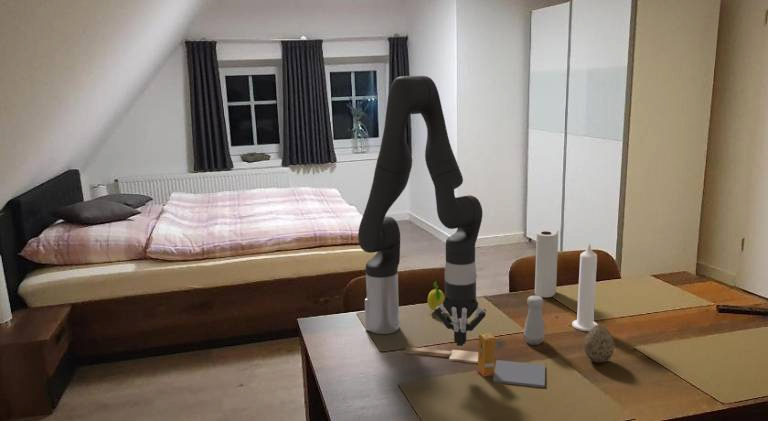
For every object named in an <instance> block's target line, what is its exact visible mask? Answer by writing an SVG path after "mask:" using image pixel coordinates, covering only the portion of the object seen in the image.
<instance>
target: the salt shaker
mask: <svg viewBox="0 0 768 421" xmlns="http://www.w3.org/2000/svg"><path fill="white" fill-rule="evenodd" d="M526 299H527V300H526V302H527V303H526V305H527V306H528V312H527V316H526V320H525V325H524V327H523V328H524V329H523V337H524V340H525V342H526V343H527V344H530V345H531V346H533V345H536V346H537V345H540V344H542V343H543V341H544V339H545V337H546V332H545V325H544V318H543V313H542V312H543V311H542V307H543V306H544V297H540V296H537V295H530V296H528V298H526Z"/></svg>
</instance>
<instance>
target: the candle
mask: <svg viewBox="0 0 768 421" xmlns="http://www.w3.org/2000/svg"><path fill="white" fill-rule="evenodd" d="M597 265H598V255H597V254H596V252H594V251H593V249H592V245H591V243H588V244H587V247H586V249H585V251H583V252H581V253H580V256H579V272H578V274H579V276H578V291H577V292H578V294H577V312H576V313H577V315H576V316H577V317H576V319H575V320H573V321H572V323H571V326H572V328H574V329H576V330H577V331H581V332H589V331H590V330H591V329H592V328H593V327H595V326H596V325H599V324H598V323H597V322H595V321H594V319H595V318H594V317H595V302H596V301H595V300H596V285H597V284H596V281H597V270H598V269H597V267H598V266H597Z"/></svg>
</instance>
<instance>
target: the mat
mask: <svg viewBox="0 0 768 421" xmlns="http://www.w3.org/2000/svg"><path fill="white" fill-rule="evenodd" d="M492 377H493V378H492V382H493V383H499V384H506V385H507V384H509V385H516V386H517V385H518V386H527V387H536V388H545V387H546V365H545V364H538V363H528V362H517V361H511V360H510V361H509V360H498V359H496V361H495V365H494V375H493V376H492Z"/></svg>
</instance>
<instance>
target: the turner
mask: <svg viewBox="0 0 768 421" xmlns="http://www.w3.org/2000/svg"><path fill="white" fill-rule="evenodd" d="M405 354H413V355H422V356H423V355H425V356H432V357H433V356H434V357H442V358H443V357H444V358H448V361H452V362H460V363H461V362H462V363H471V364H478V351H471V350H460V349H451V350H441V349H431V348H423V347H414V346H413V347H411V346H406V348H405Z"/></svg>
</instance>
